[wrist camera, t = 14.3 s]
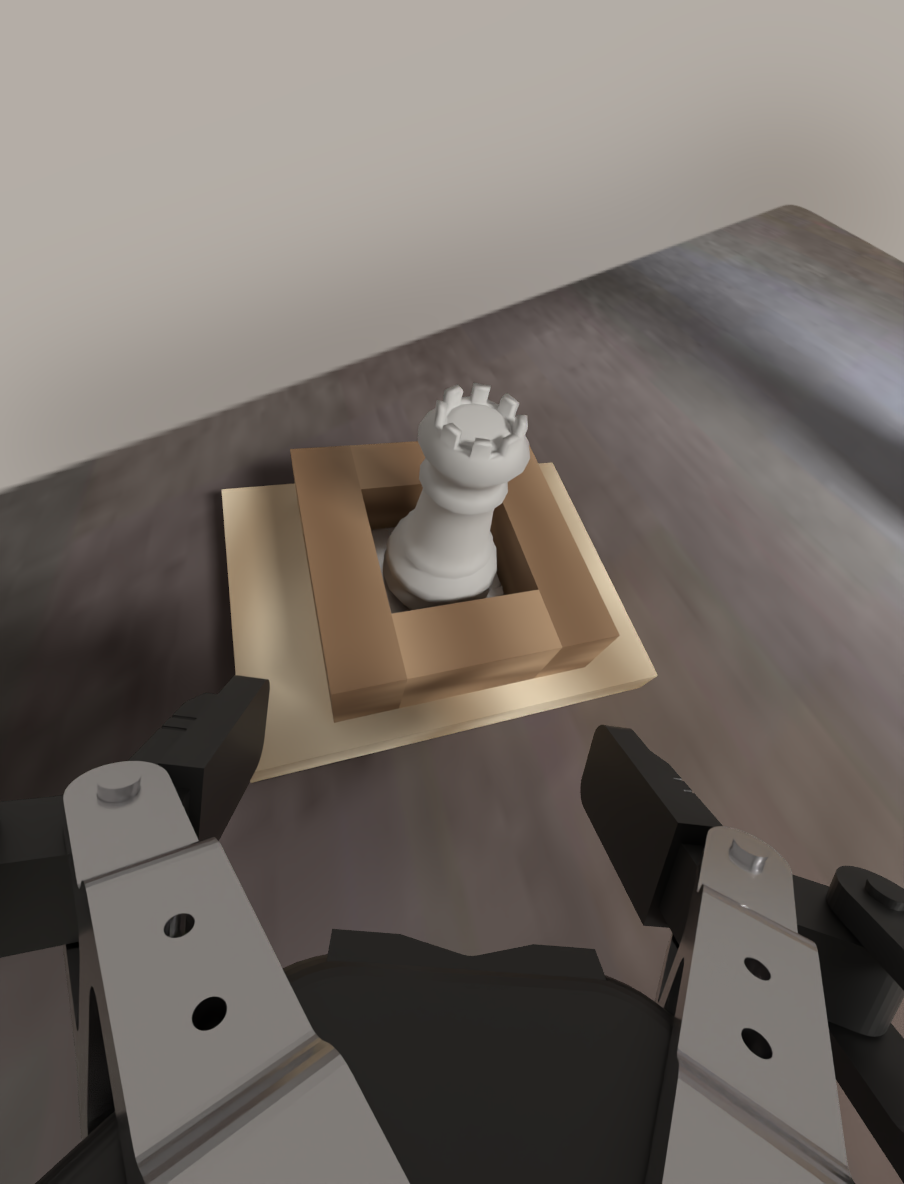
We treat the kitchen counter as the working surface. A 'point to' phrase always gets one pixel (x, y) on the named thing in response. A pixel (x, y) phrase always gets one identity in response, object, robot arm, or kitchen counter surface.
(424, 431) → the rook chess piece
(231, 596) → the press socket
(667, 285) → the kitchen counter surface
